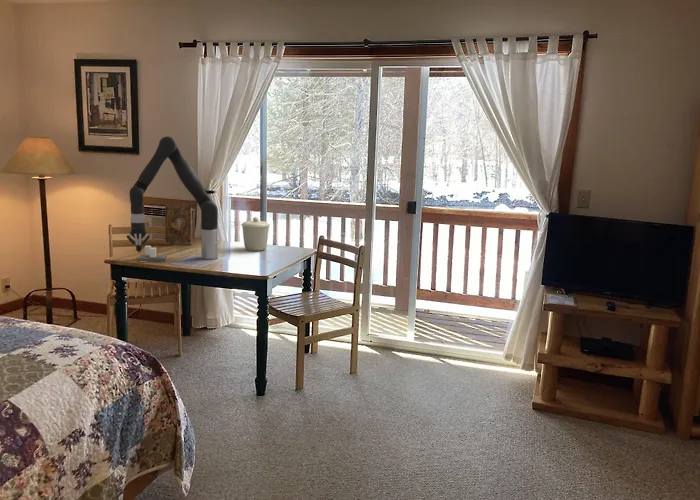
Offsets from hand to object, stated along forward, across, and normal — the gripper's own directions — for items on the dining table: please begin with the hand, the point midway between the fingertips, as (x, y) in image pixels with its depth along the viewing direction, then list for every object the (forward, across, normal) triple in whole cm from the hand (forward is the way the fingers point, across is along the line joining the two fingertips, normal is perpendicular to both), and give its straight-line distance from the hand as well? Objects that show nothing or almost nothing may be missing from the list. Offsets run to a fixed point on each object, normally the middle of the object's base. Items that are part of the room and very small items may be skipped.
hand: (139, 251), depth 317 cm
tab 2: (+2, -8, +6) cm, 10 cm away
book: (+5, -19, -42) cm, 46 cm away
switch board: (+4, -8, +3) cm, 9 cm away
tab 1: (+2, -5, 0) cm, 5 cm away
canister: (+5, -67, -26) cm, 72 cm away
